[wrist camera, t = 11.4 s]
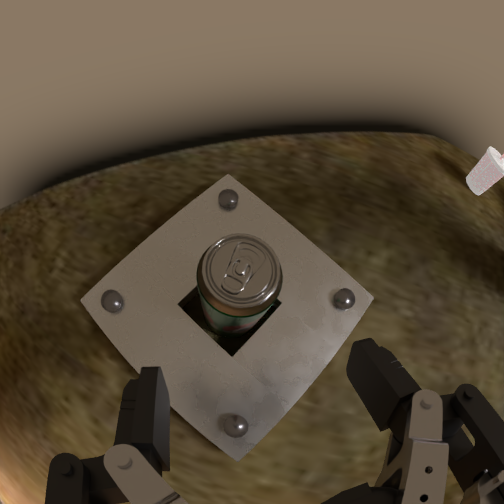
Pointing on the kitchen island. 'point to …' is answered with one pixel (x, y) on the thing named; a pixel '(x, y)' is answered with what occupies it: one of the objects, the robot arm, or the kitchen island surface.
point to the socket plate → (201, 344)
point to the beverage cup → (486, 171)
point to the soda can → (237, 283)
